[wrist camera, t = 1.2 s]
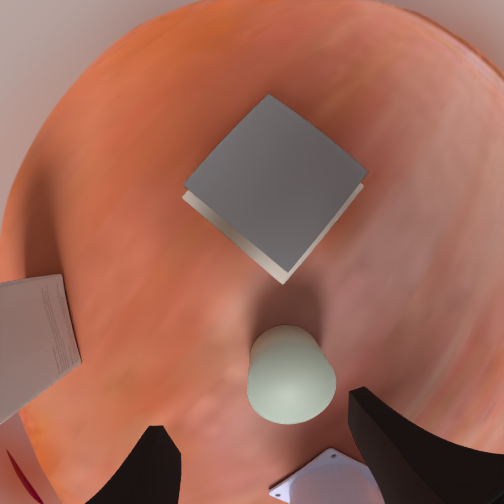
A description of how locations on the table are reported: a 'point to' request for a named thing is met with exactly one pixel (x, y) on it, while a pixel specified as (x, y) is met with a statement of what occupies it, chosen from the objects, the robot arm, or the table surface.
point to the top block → (277, 181)
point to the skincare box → (33, 340)
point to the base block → (251, 248)
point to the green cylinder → (289, 376)
